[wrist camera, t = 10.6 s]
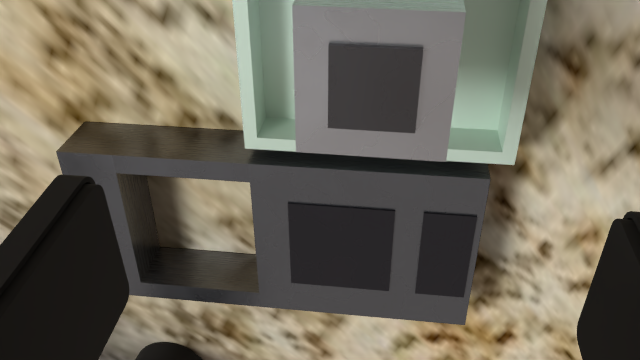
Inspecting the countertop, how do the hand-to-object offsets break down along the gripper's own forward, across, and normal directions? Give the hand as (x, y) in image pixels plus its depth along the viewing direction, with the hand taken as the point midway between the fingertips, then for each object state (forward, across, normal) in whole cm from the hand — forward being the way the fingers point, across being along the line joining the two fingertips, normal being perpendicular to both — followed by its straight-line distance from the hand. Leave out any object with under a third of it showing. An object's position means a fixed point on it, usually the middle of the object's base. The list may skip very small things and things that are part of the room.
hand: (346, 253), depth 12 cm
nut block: (+17, 0, +1) cm, 17 cm away
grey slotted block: (+17, +5, +12) cm, 21 cm away
